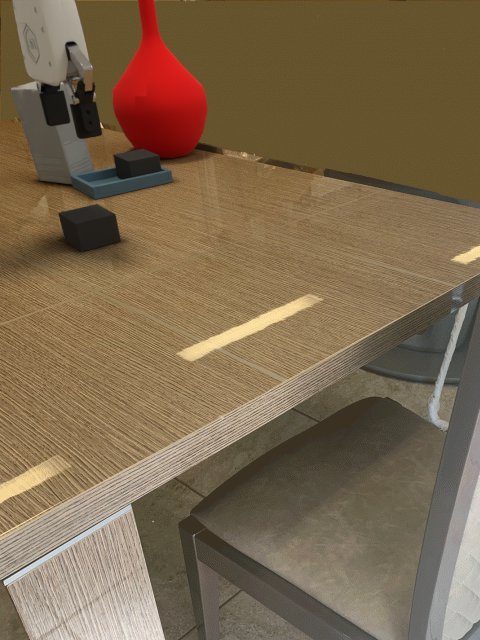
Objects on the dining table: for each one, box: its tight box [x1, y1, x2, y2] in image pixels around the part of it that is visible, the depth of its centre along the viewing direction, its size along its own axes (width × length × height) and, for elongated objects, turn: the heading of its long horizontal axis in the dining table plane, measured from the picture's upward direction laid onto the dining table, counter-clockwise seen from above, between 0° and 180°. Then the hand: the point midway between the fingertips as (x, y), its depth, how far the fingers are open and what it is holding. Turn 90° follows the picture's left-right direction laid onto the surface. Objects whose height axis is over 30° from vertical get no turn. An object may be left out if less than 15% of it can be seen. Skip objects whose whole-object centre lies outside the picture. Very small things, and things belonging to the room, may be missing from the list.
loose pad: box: [57, 203, 122, 252], centre depth 92 cm, size 6×6×4 cm
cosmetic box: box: [10, 80, 96, 185], centre depth 113 cm, size 8×7×16 cm
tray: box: [70, 165, 174, 200], centre depth 115 cm, size 15×9×2 cm, turn 131°
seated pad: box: [112, 149, 162, 180], centre depth 116 cm, size 6×6×4 cm
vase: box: [111, 0, 209, 160], centre depth 124 cm, size 18×18×30 cm
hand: (74, 130), depth 85 cm, fingers open, 9 cm apart
